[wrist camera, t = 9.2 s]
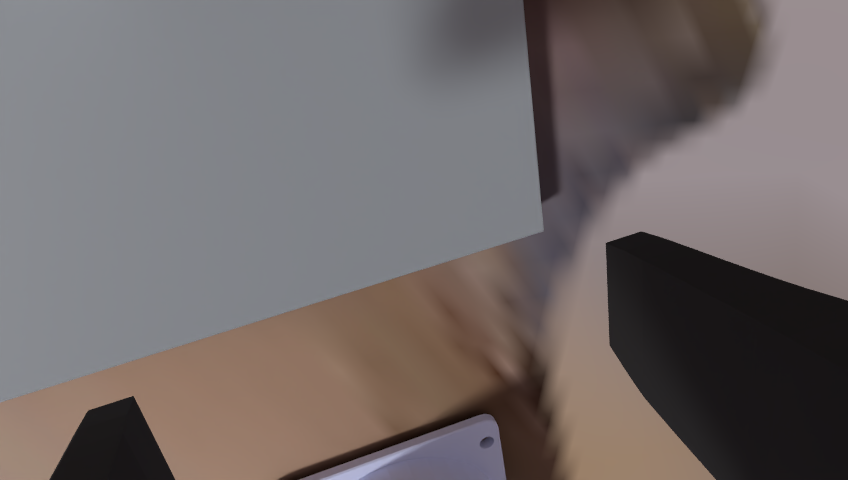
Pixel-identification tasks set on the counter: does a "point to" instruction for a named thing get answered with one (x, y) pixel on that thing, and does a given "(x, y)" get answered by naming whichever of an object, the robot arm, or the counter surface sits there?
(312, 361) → the counter surface
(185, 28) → the base plate
